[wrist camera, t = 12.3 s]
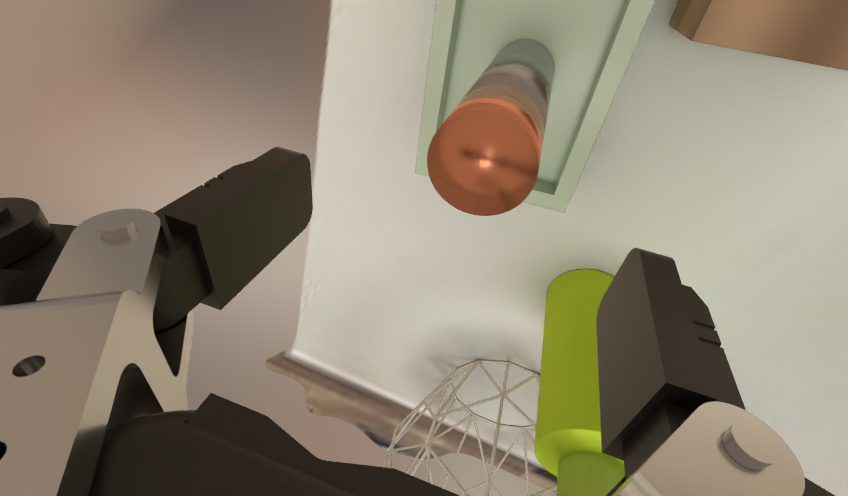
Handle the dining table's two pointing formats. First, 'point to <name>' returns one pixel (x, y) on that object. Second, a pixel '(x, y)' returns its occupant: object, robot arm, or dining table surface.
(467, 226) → the dining table surface
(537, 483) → the dining table surface
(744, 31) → the hitch block
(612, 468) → the soap dispenser
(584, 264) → the dining table surface
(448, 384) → the table lamp
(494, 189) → the grey and copper cylinder
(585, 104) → the tray
